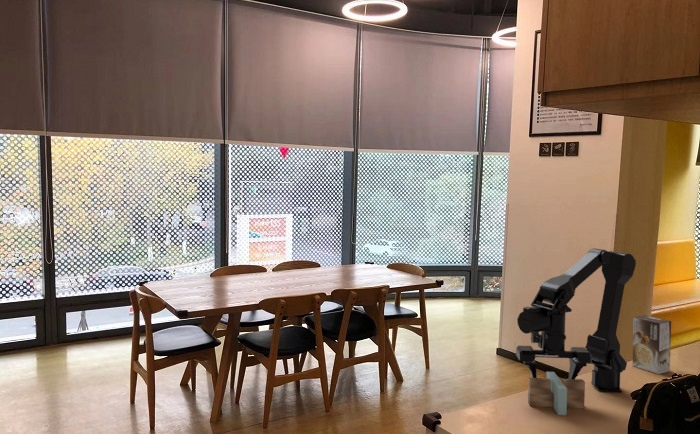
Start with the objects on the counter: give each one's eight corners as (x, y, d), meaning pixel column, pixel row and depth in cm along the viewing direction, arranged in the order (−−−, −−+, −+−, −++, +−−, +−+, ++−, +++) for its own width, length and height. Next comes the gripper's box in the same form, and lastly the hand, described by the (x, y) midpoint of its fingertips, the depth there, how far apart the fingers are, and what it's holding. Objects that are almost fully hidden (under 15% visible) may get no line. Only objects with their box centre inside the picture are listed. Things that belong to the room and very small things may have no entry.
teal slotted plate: (566, 415, 138) (567, 388, 137) (558, 415, 138) (559, 388, 137) (553, 396, 150) (553, 371, 149) (546, 396, 150) (546, 371, 149)
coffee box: (671, 371, 169) (673, 320, 168) (658, 374, 166) (660, 323, 165) (643, 362, 177) (645, 314, 176) (630, 365, 174) (632, 316, 173)
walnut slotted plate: (581, 405, 144) (582, 379, 144) (584, 408, 142) (585, 382, 142) (527, 402, 145) (528, 377, 145) (529, 406, 143) (530, 380, 143)
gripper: (579, 321, 153) (578, 375, 154) (512, 320, 155) (511, 373, 156) (593, 333, 142) (591, 390, 143) (520, 331, 144) (519, 388, 145)
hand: (552, 385), depth 147 cm, fingers open, 9 cm apart
